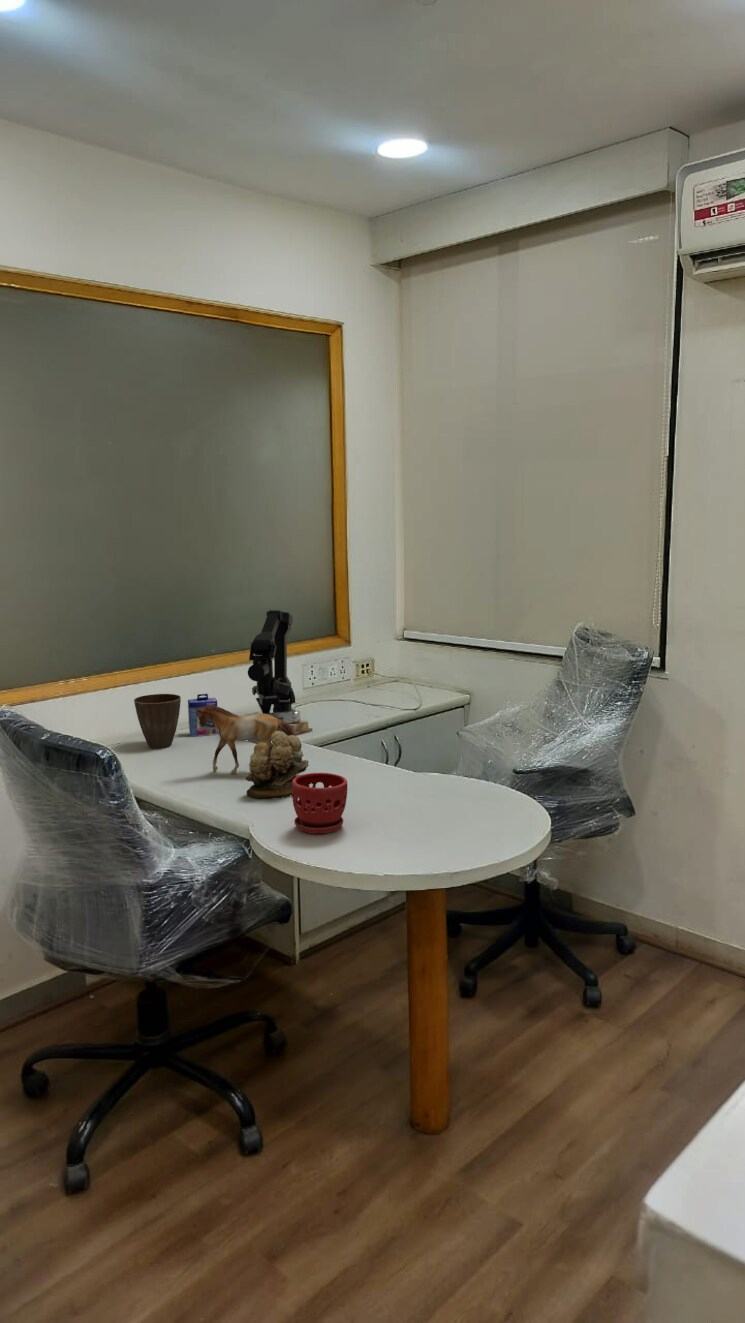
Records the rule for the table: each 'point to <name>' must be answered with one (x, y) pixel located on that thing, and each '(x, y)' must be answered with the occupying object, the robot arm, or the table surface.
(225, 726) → the horse figurine
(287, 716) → the lock bar
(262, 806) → the table surface
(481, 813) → the table surface
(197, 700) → the ink cartridge box
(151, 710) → the plant pot
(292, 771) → the beige lumpy carved figure
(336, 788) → the plant pot
